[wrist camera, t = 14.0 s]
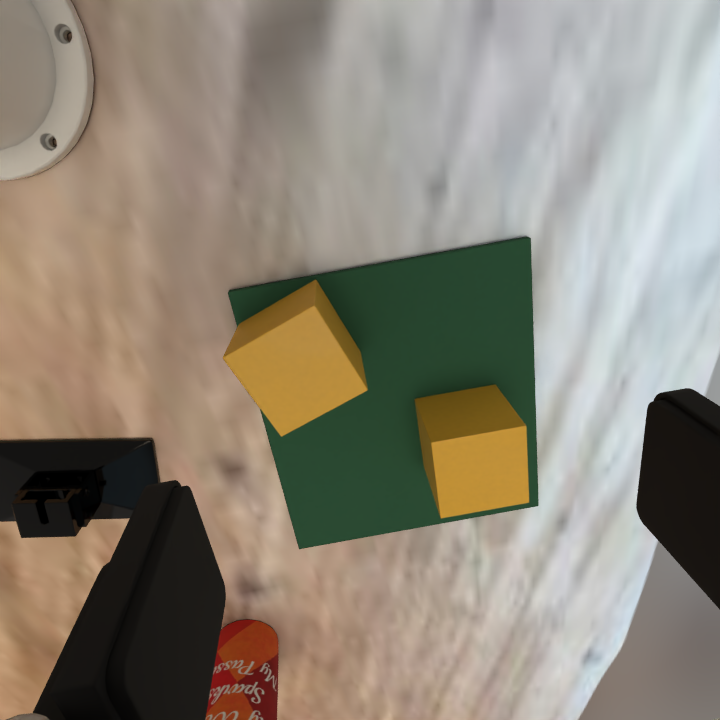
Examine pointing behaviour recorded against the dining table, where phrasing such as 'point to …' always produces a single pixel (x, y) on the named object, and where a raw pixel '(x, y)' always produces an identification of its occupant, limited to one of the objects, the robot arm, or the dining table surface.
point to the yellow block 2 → (473, 450)
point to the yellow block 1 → (297, 359)
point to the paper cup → (245, 673)
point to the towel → (404, 383)
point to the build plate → (72, 482)
